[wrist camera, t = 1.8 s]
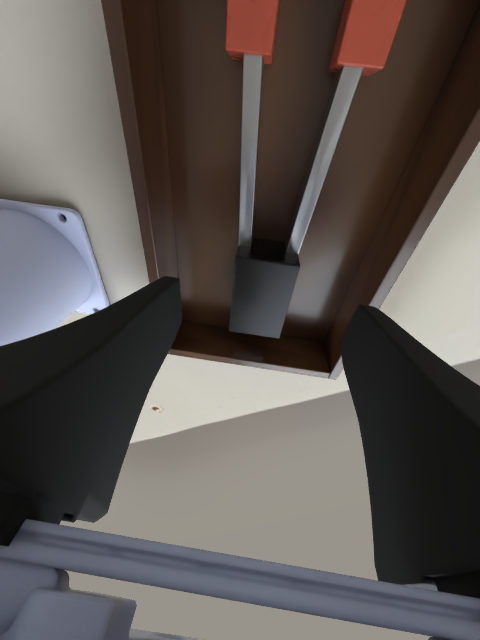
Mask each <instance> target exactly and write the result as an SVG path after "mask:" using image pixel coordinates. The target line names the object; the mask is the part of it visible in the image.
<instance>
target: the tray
mask: <svg viewBox="0 0 480 640" xmlns="http://www.w3.org/2000/svg"><path fill="white" fill-rule="evenodd" d="M101 2H102V8H103V14H104V19H105V25H106V31H107V37H108V43H109V49H110V55H111V60H112V66H113V72H114V78H115V84H116V90H117V95H118V101H119V107H120V113H121V119H122V125H123V131H124V136H125V142H126V148H127V154H128V160H129V166H130V171H131V177H132V183H133V189H134V195H135V201H136V207H137V212H138V218H139V224H140V230H141V236H142V242H143V247H144V253H145V259H146V265H147V271H148V277H149V283H152V282H154V281H156V280H157V279H159V278H161V277H163V276H169V277H176V278H180V291H181V305H182V320H181V323H180V326H179V329H178V332H177V335H176V338H175V340H174V342H173V344H172V346H171V348H170V350H169V352H168V354H171V355H178V356H184V357H191V358H197V359H204V360H210V361H217V362H224V363H230V364H237V365H243V366H250V367H256V368H263V369H270V370H276V371H283V372H289V373H296V374H302V375H309V376H316V377H322V378H329V379H335V380H336V379H337V378H338V376H339V374H340V373H341V371H342V369H343V368H344V367H343V363H342V357H341V349H340V340H341V338H342V336H343V334H344V332H345V330H346V328H347V326H348V324H349V322H350V321H351V319H352V317H353V315H354V313H355V311H356V309H357V307H358V305H366V306H373V307H376V308H377V309H379V308H380V306H381V304H382V303H383V301H384V299H385V298H386V296H387V294H388V293H389V291H390V289H391V288H392V286H393V284H394V283H395V281H396V279H397V278H398V276H399V274H400V273H401V271H402V269H403V268H404V266H405V264H406V263H407V261H408V259H409V258H410V256H411V254H412V253H413V251H414V250H415V248H416V246H417V245H418V243H419V241H420V240H421V238H422V236H423V235H424V233H425V231H426V230H427V228H428V226H429V225H430V223H431V221H432V220H433V218H434V216H435V215H436V213H437V211H438V210H439V208H440V206H441V205H442V203H443V201H444V200H445V198H446V196H447V195H448V193H449V191H450V190H451V188H452V186H453V185H454V183H455V181H456V180H457V178H458V176H459V175H460V173H461V171H462V170H463V168H464V166H465V165H466V163H467V161H468V160H469V158H470V156H471V155H472V153H473V151H474V150H475V148H476V146H477V145H478V143H479V141H480V0H407V1H406V4H405V7H404V10H403V13H402V16H401V19H400V22H399V25H398V28H397V31H396V33H395V36H394V39H393V42H392V45H391V48H390V51H389V54H388V57H387V60H386V63H385V66H384V68H383V69H382V70H380V71H378V72H376V73H374V74H372V75H370V76H361V77H360V80H359V83H358V86H357V89H356V92H355V95H354V97H353V100H352V103H351V106H350V109H349V112H348V115H347V117H346V120H345V123H344V126H343V129H342V132H341V134H340V137H339V140H338V143H337V146H336V149H335V152H334V154H333V157H332V160H331V163H330V166H329V169H328V171H327V174H326V177H325V180H324V183H323V186H322V189H321V191H320V194H319V197H318V200H317V203H316V206H315V209H314V211H313V214H312V217H311V220H310V223H309V226H308V228H307V231H306V234H305V237H304V240H303V243H302V246H301V248H300V251H299V254H298V256H299V262H300V269H299V273H298V276H297V280H296V283H295V287H294V290H293V293H292V297H291V300H290V304H289V307H288V311H287V314H286V318H285V321H284V325H283V328H282V332H281V335H280V338H279V339H278V338H271V337H264V336H257V335H251V334H244V333H238V332H231V331H229V320H230V309H231V298H232V287H233V276H234V266H235V256H236V253H237V250H238V239H239V199H240V159H241V119H242V80H243V61H239V60H232V59H231V57H230V56H229V54H228V53H227V51H226V49H225V38H226V12H227V0H101ZM344 3H345V0H280V3H279V11H278V19H277V27H276V35H275V43H274V51H273V59H272V63H271V64H264V77H263V92H262V107H261V123H260V138H259V154H258V169H257V185H256V200H255V215H254V231H253V238H258V239H265V240H272V241H279V242H285V240H286V236H287V233H288V230H289V226H290V223H291V220H292V216H293V213H294V210H295V206H296V203H297V200H298V196H299V193H300V190H301V186H302V183H303V180H304V176H305V173H306V170H307V166H308V163H309V160H310V156H311V153H312V150H313V146H314V143H315V140H316V136H317V133H318V130H319V126H320V123H321V120H322V116H323V113H324V110H325V106H326V103H327V100H328V97H329V93H330V90H331V87H332V83H333V80H334V77H335V73H336V72H330V71H329V66H330V62H331V58H332V54H333V49H334V45H335V41H336V37H337V32H338V28H339V24H340V20H341V15H342V11H343V7H344Z"/></svg>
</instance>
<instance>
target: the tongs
mask: <svg viewBox="0 0 480 640" xmlns="http://www.w3.org/2000/svg"><path fill="white" fill-rule="evenodd" d="M406 1H407V0H345V3H344V7H343V11H342V15H341V20H340V24H339V28H338V32H337V37H336V41H335V45H334V49H333V54H332V58H331V62H330V66H329V71H330V72H336V73H335V77H334V80H333V83H332V87H331V90H330V93H329V97H328V100H327V103H326V106H325V110H324V113H323V116H322V120H321V123H320V126H319V130H318V133H317V136H316V140H315V143H314V146H313V150H312V153H311V156H310V160H309V163H308V166H307V170H306V173H305V176H304V180H303V183H302V186H301V190H300V193H299V196H298V200H297V203H296V206H295V210H294V213H293V216H292V220H291V223H290V226H289V230H288V233H287V236H286V240H285V242H279V241H272V240H265V239H258V238H253V231H254V215H255V200H256V185H257V169H258V154H259V138H260V123H261V107H262V92H263V77H264V64H271V63H272V59H273V51H274V43H275V35H276V27H277V19H278V11H279V3H280V0H227V12H226V38H225V49H226V51H227V53H228V54H229V56H230V57H231V59H232V60H239V61H243V80H242V119H241V159H240V199H239V239H238V250H237V253H236V256H235V266H234V276H233V287H232V298H231V309H230V320H229V331H231V332H238V333H244V334H251V335H257V336H264V337H271V338H278V339H279V338H280V335H281V332H282V328H283V325H284V321H285V318H286V314H287V311H288V307H289V304H290V300H291V297H292V293H293V290H294V287H295V283H296V280H297V276H298V273H299V269H300V262H299V256H298V254H299V251H300V248H301V246H302V243H303V240H304V237H305V234H306V231H307V228H308V226H309V223H310V220H311V217H312V214H313V211H314V209H315V206H316V203H317V200H318V197H319V194H320V191H321V189H322V186H323V183H324V180H325V177H326V174H327V171H328V169H329V166H330V163H331V160H332V157H333V154H334V152H335V149H336V146H337V143H338V140H339V137H340V134H341V132H342V129H343V126H344V123H345V120H346V117H347V115H348V112H349V109H350V106H351V103H352V100H353V97H354V95H355V92H356V89H357V86H358V83H359V80H360V77H361V76H370V75H372V74H374V73H376V72H378V71H380V70H382V69H383V68H384V66H385V63H386V60H387V57H388V54H389V51H390V48H391V45H392V42H393V39H394V36H395V33H396V31H397V28H398V25H399V22H400V19H401V16H402V13H403V10H404V7H405V4H406Z"/></svg>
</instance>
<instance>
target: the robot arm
mask: <svg viewBox="0 0 480 640" xmlns="http://www.w3.org/2000/svg"><path fill="white" fill-rule="evenodd" d="M62 214H63V215H64V216H65V217H66V219H67V220H66V219H64V217H63V216H62ZM74 312H80V313H86V314H91V315H89V316H86V317H84V318H82V319H79V320H77V321H74V322H72V323H69V324H67V325H64V326H61V327H59V328H57V327H58V326H60V325H61V324H62V323H63V322H64V321H65V320H66V319H67V318H68V317H69V316H70V315H71V314H72V313H74ZM181 320H182V305H181V291H180V278H176V277H169V276H163V277H161V278H159V279H157V280H156V281H154V282H152V283H150V284H148V285H147V286H145V287H143V288H141V289H140V290H138V291H136V292H134V293H132V294H131V295H129V296H127V297H125V298H123V299H121V300H120V301H118V302H116V303H114V304H112V305H110V304H109V301H108V298H107V295H106V292H105V289H104V285H103V282H102V279H101V276H100V273H99V270H98V267H97V264H96V260H95V257H94V254H93V251H92V248H91V245H90V242H89V238H88V235H87V232H86V229H85V226H84V223H83V220H82V217H81V215H80V214H79V213H78V212H77V211H76V210H74V209H71V208H63V207H56V206H49V205H42V204H35V203H28V202H20V201H13V200H6V199H0V640H204V639H197V638H191V637H184V636H177V635H171V634H163V633H157V632H150V631H143V630H137V629H130V627H131V623H132V620H133V617H134V613H135V610H136V606H137V605H136V602H135V601H134V600H130V599H125V598H121V597H116V596H111V595H106V594H101V593H94V592H87V591H79V590H71V589H70V587H69V575H68V573H67V572H66V571H65V570H68V571H73V572H78V573H84V574H89V575H95V576H100V577H106V578H111V579H117V580H123V581H128V582H134V583H140V584H145V585H150V586H156V587H161V588H167V589H172V590H178V591H184V592H189V593H194V594H200V595H206V596H212V597H217V598H222V599H228V600H233V601H239V602H244V603H250V604H256V605H261V606H266V607H272V608H277V609H283V610H289V611H295V612H300V613H306V614H311V615H316V616H322V617H327V618H333V619H338V620H344V621H350V622H355V623H361V624H367V625H372V626H377V627H383V628H388V629H394V630H400V631H405V632H410V633H416V634H421V635H427V636H433V637H430V638H429V639H428V640H480V386H479V385H477V384H476V383H474V382H473V381H471V380H470V379H468V378H467V377H465V376H464V375H462V374H461V373H460V372H458V371H457V370H455V369H454V368H452V367H451V366H450V365H448V364H447V363H446V362H444V361H443V360H442V359H440V358H439V357H438V356H436V355H435V354H434V353H432V352H431V351H430V350H429V349H427V348H426V347H425V346H423V345H422V344H421V343H420V342H419V341H417V340H416V339H415V338H414V337H412V336H411V335H410V334H409V333H408V332H406V331H405V330H404V329H403V328H401V327H400V326H399V325H398V324H397V323H395V322H394V321H393V320H392V319H391V318H389V317H388V316H387V315H385V314H384V313H383V312H382V311H380V310H379V309H377V308H376V307H373V306H366V305H358V307H357V309H356V311H355V313H354V315H353V317H352V319H351V321H350V322H349V324H348V326H347V328H346V330H345V332H344V334H343V336H342V338H341V340H340V349H341V357H342V363H343V367H344V371H345V375H346V378H347V382H348V385H349V389H350V392H351V396H352V399H353V402H354V406H355V410H356V413H357V417H358V421H359V426H360V431H361V437H362V443H363V449H364V455H365V463H366V470H367V477H368V486H369V495H370V504H371V514H372V528H373V542H374V561H375V568H376V572H377V577H378V581H376V580H371V579H365V578H360V577H354V576H348V575H342V574H336V573H331V572H325V571H320V570H314V569H308V568H303V567H297V566H291V565H286V564H280V563H274V562H269V561H263V560H256V559H251V558H245V557H240V556H234V555H228V554H223V553H217V552H211V551H205V550H200V549H194V548H189V547H183V546H177V545H172V544H166V543H160V542H155V541H149V540H143V539H138V538H132V537H126V536H121V535H115V534H109V533H103V532H98V531H92V530H86V529H80V528H75V527H69V526H64V525H59V524H60V522H61V520H63V521H69V522H75V521H76V520H82V521H88V522H93V523H94V522H96V521H97V520H99V519H100V518H102V517H103V516H104V515H105V514H106V513H107V512H108V509H109V505H110V502H111V499H112V496H113V493H114V489H115V486H116V483H117V479H118V476H119V473H120V469H121V467H122V464H123V461H124V457H125V455H126V451H127V449H128V446H129V443H130V440H131V437H132V434H133V432H134V429H135V426H136V423H137V421H138V418H139V415H140V412H141V410H142V407H143V405H144V402H145V399H146V397H147V394H148V392H149V389H150V387H151V385H152V383H153V381H154V379H155V377H156V375H157V373H158V371H159V369H160V367H161V365H162V363H163V361H164V359H165V357H166V356H167V354H168V352H169V350H170V348H171V346H172V344H173V342H174V340H175V338H176V335H177V332H178V329H179V326H180V323H181Z"/></svg>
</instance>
